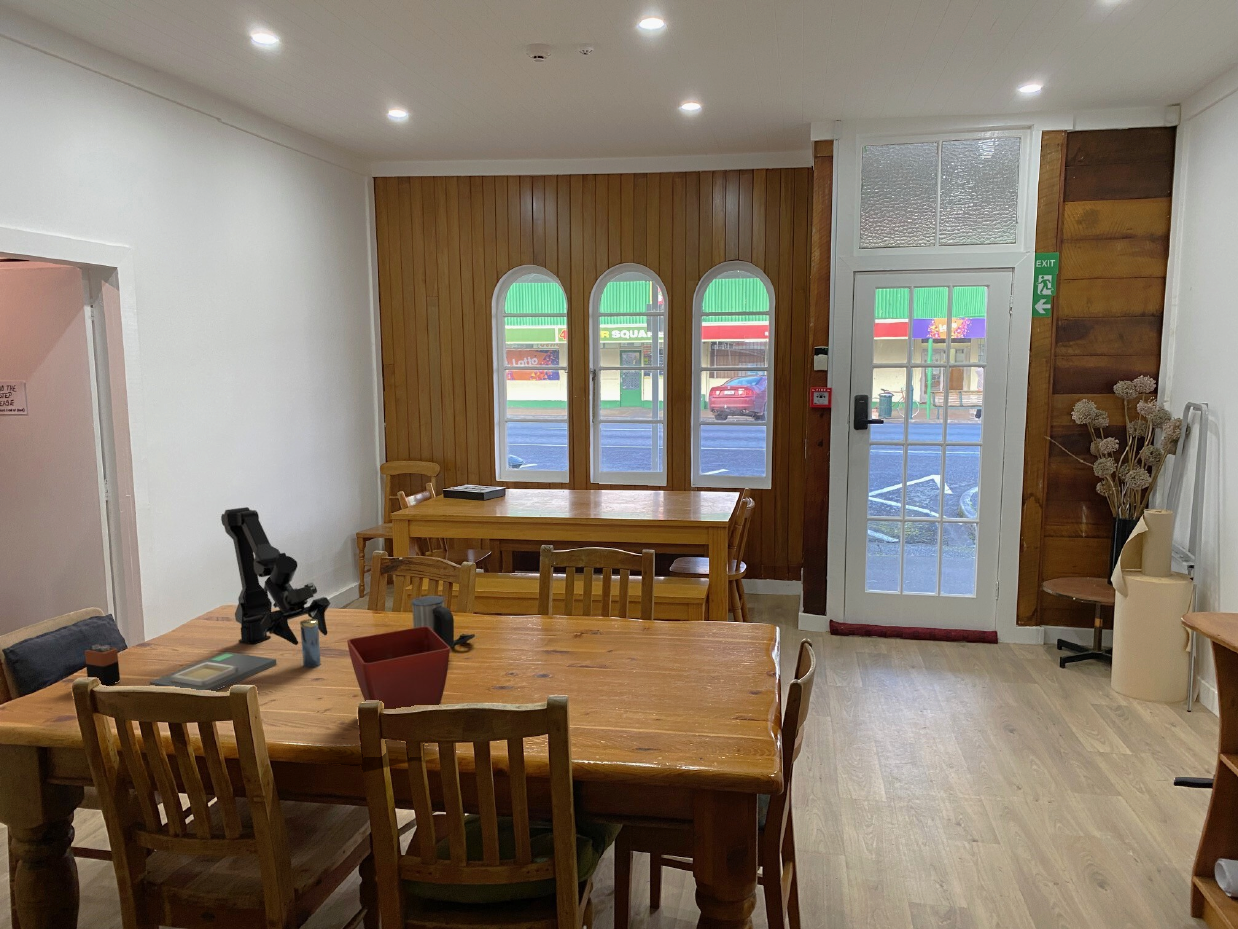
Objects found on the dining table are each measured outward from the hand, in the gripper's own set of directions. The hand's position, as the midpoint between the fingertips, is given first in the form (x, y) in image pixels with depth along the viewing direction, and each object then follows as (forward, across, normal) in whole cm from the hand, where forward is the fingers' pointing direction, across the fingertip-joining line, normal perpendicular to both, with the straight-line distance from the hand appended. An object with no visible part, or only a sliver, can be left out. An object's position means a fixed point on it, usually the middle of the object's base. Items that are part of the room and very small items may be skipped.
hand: (312, 639), depth 231 cm
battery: (-21, -36, +31) cm, 52 cm away
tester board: (-6, -18, +17) cm, 25 cm away
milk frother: (+20, +27, -10) cm, 35 cm away
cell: (+4, 0, +6) cm, 7 cm away
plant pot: (+38, -11, -27) cm, 47 cm away
